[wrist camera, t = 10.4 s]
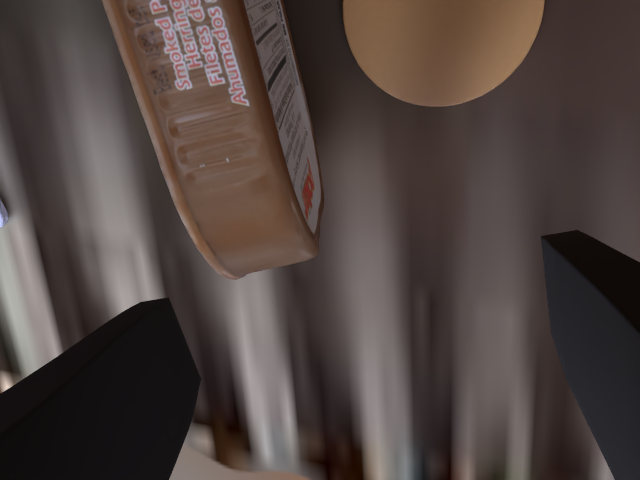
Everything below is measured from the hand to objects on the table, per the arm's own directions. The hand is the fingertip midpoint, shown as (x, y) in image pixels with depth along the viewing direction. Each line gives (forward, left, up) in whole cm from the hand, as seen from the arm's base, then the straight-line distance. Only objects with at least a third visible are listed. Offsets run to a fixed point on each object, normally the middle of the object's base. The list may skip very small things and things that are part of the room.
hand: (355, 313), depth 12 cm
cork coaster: (+3, +4, -10) cm, 12 cm away
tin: (-3, +6, -11) cm, 13 cm away
